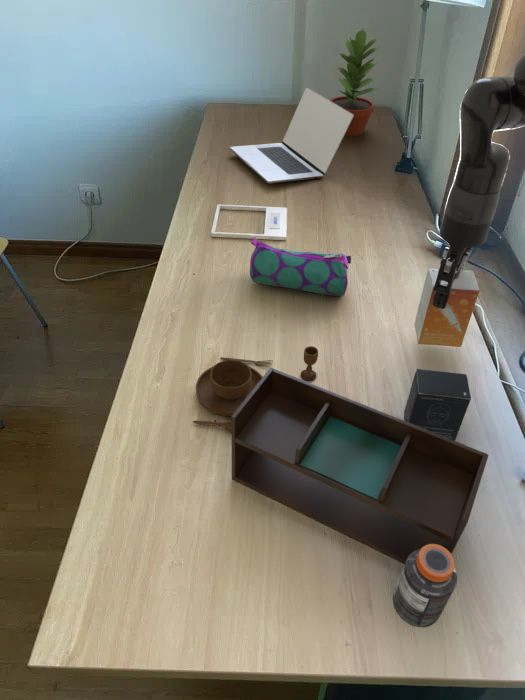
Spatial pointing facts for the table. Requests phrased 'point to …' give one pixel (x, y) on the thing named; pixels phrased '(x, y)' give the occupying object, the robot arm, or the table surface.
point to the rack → (354, 466)
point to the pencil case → (299, 269)
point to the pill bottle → (425, 585)
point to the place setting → (237, 384)
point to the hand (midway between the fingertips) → (445, 294)
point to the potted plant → (356, 84)
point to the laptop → (301, 142)
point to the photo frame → (273, 223)
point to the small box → (446, 311)
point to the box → (438, 401)
